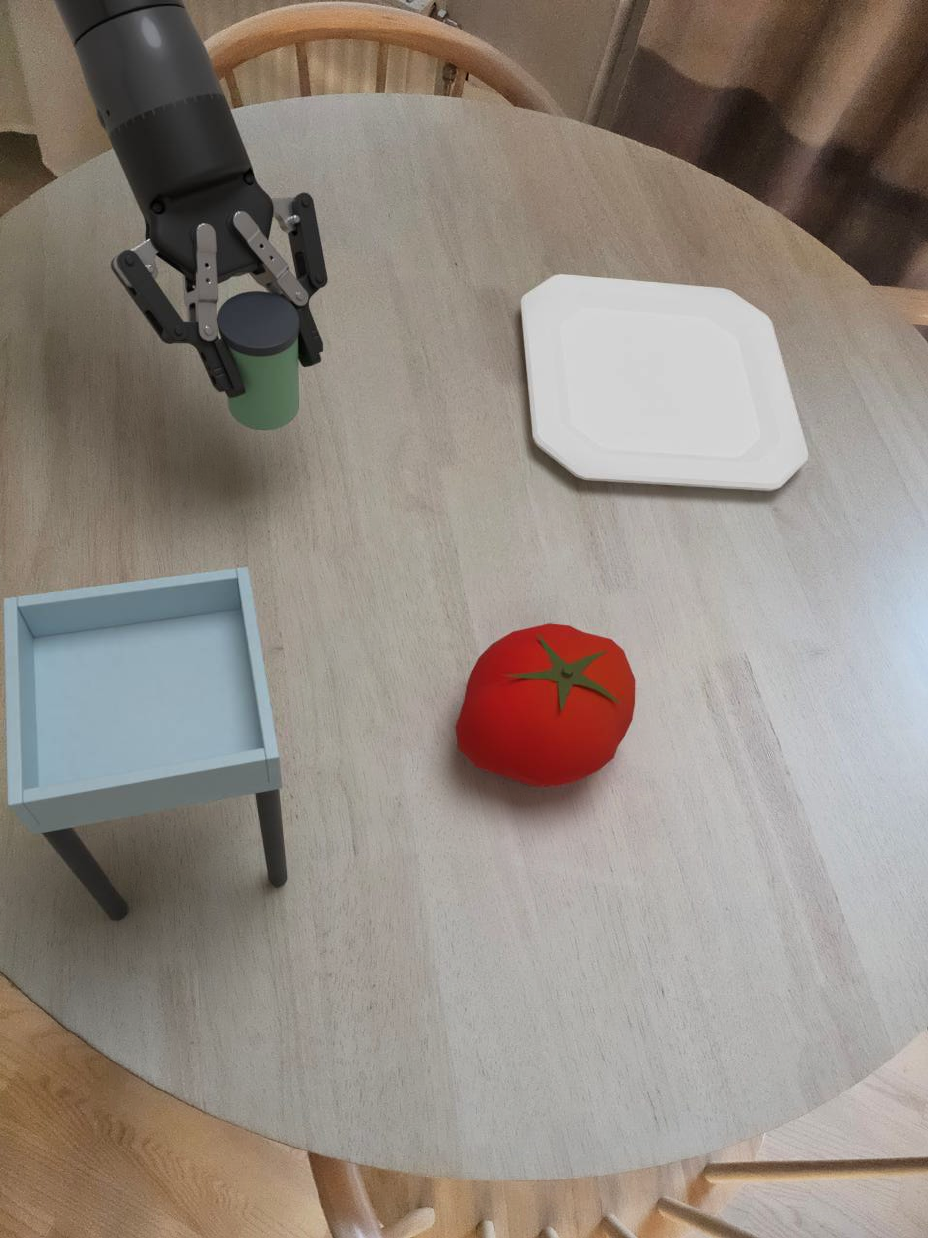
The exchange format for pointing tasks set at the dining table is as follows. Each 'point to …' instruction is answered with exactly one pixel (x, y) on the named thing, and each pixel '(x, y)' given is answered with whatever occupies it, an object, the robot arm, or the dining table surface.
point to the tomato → (547, 705)
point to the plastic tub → (262, 357)
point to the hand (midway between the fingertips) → (275, 378)
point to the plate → (658, 384)
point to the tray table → (138, 711)
